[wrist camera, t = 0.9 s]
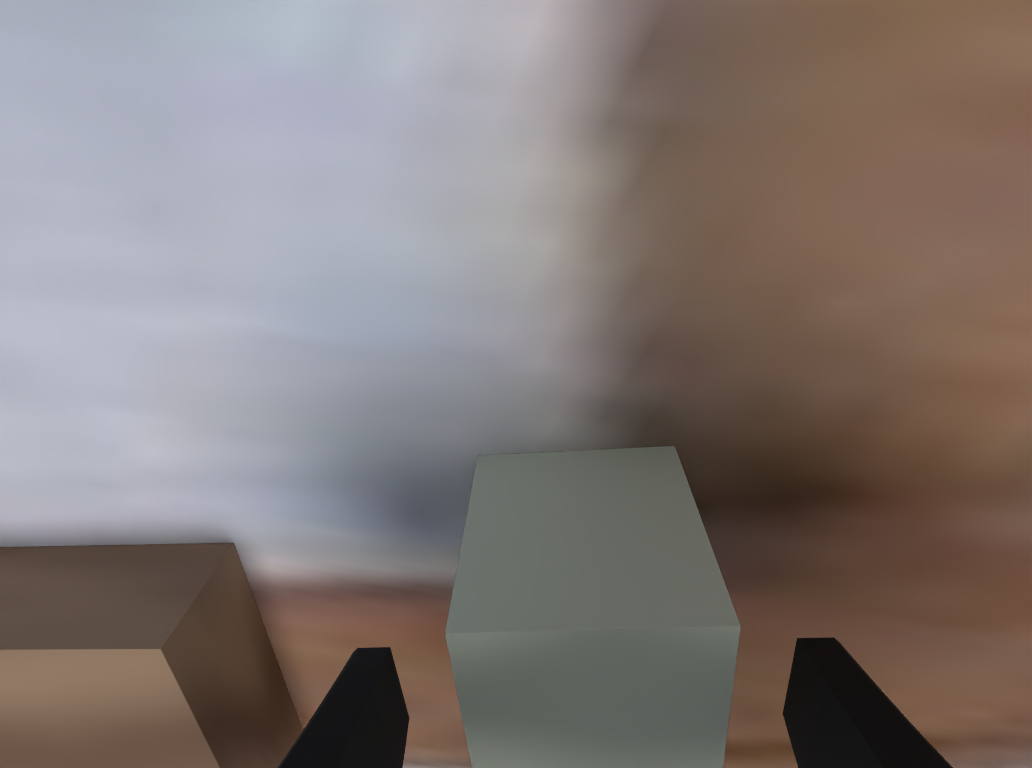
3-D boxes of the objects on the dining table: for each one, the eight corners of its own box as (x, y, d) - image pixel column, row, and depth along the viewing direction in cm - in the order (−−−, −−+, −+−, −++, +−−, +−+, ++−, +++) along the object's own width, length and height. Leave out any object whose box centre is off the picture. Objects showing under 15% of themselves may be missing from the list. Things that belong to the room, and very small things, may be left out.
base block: (307, 724, 19) (260, 850, 16) (76, 723, 19) (-13, 844, 16) (239, 535, 15) (160, 649, 12) (-42, 540, 16) (-187, 650, 13)
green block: (668, 589, 15) (719, 797, 11) (497, 594, 16) (478, 797, 11) (674, 444, 13) (740, 626, 9) (478, 453, 14) (444, 632, 9)
